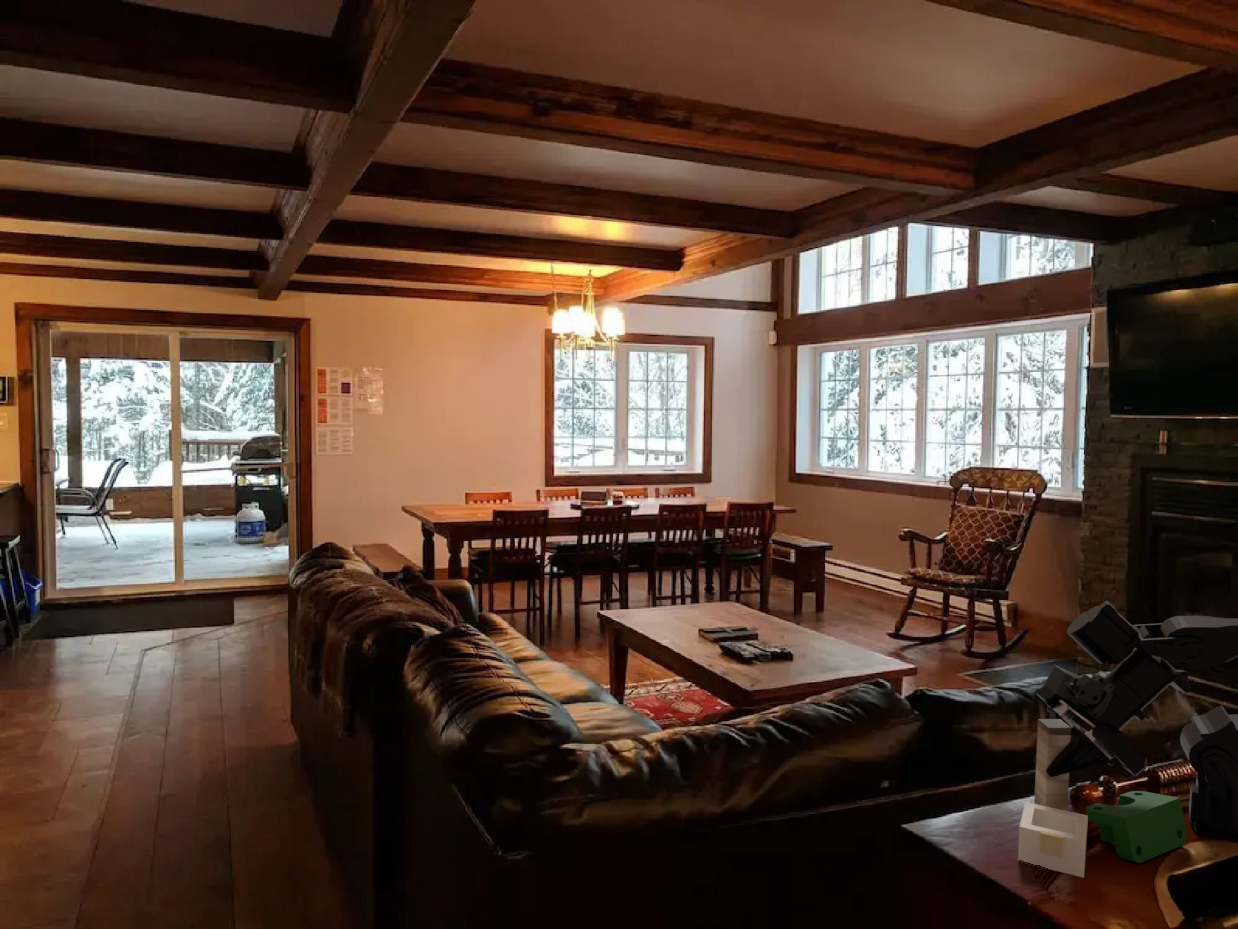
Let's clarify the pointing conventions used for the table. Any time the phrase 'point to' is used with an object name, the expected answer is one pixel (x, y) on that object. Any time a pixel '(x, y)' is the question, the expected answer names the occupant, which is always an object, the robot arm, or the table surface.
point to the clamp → (1141, 824)
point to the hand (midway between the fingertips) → (1042, 768)
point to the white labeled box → (1053, 839)
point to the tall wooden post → (1049, 746)
